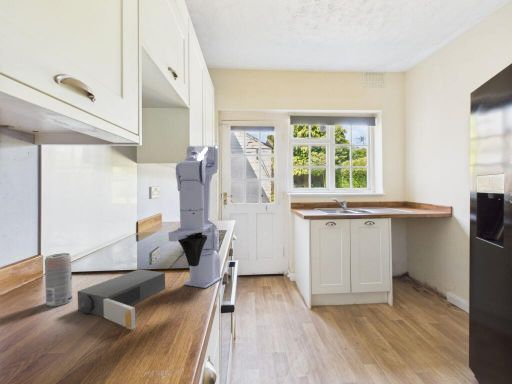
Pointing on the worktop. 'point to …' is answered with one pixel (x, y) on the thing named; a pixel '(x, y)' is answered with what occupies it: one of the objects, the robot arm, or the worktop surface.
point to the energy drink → (58, 279)
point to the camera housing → (121, 290)
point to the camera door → (119, 313)
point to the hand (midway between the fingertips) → (193, 265)
